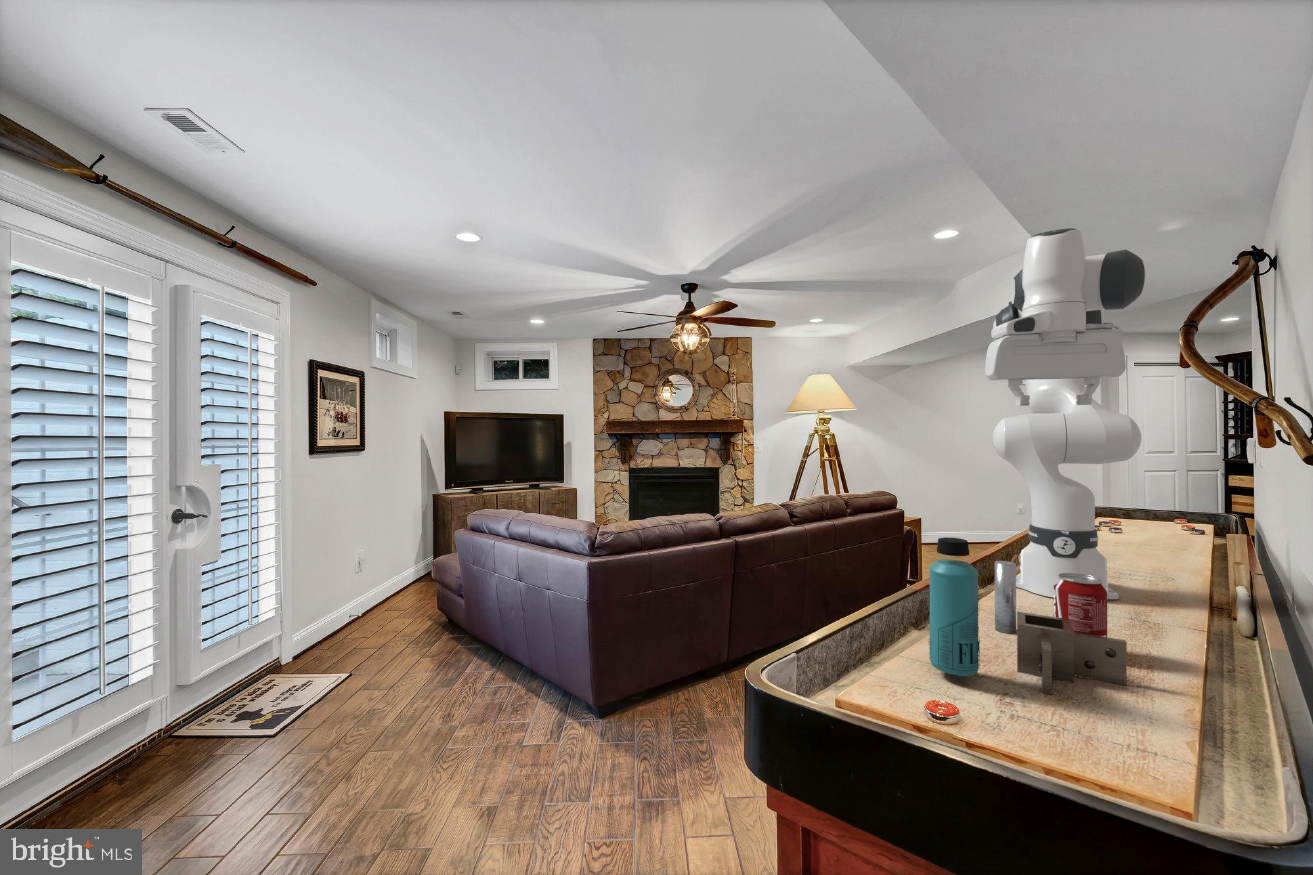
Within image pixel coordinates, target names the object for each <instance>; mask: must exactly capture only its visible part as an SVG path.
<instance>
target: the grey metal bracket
mask: <svg viewBox="0 0 1313 875" xmlns="http://www.w3.org/2000/svg"><path fill="white" fill-rule="evenodd" d="M1016 634H1017V635H1016V636H1017V638H1016V646H1017V648H1016V651H1017V653H1016V658H1017V659H1016V661H1017V663H1016V664H1017V668H1016V670H1017V672H1018V673H1023V674H1028V675H1032V676H1038V677H1040V681H1041V683H1040V684H1041V691H1042V694H1044V695H1049V696H1052V692H1053V690H1052V689H1053V687H1052V686H1053V683H1052V682H1053V679H1054V680H1057V681H1058V680H1059V681H1063V682H1069V683H1073V684H1074V682H1075V677H1078V678H1084V679H1090V680H1095V681H1099V682H1100V681H1101V682H1106V683H1111V684H1116V685H1120V686H1121V685H1122V686H1127V685H1128V684H1127V682H1128V681H1127V679H1128V678H1127V676H1128V675H1127V670H1128V668H1127V664H1128V663H1127V662H1128V661H1127V658H1128V657H1127V654H1128V652H1127V650H1128V649H1127V648H1128V643H1127V641H1126V640H1125V639H1121V638H1120V639H1119V638H1113V637H1108V636H1107V637H1101V636H1095V635H1089V634H1082V633H1076V632H1073V628H1072V625H1071V621H1070V619H1064V618H1057V617H1053V616H1050V615H1042V614H1037V613H1031V612H1030V613H1029V612H1022V611H1016Z"/></svg>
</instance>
